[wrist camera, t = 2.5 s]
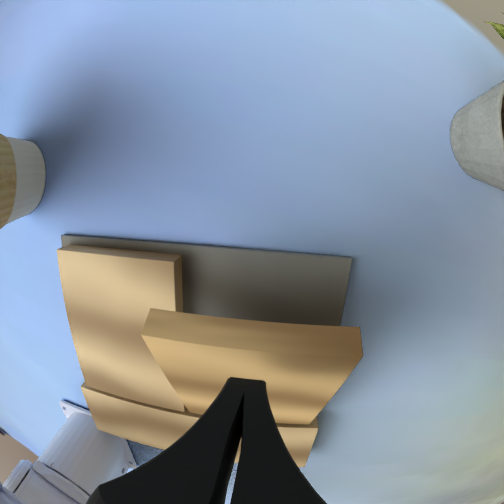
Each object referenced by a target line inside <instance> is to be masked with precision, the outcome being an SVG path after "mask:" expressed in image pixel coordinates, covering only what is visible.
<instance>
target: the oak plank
mask: <svg viewBox="0 0 504 504" xmlns="http://www.w3.org/2000/svg"><path fill="white" fill-rule="evenodd" d="M141 336H142V338H143V339H144V341H145V343H146V345H147V346H148V348H149V350H150V352H151V353H152V355H153V357H154V358H155V360H156V362H157V363H158V365H159V367H160V368H161V370H162V371H163V373H164V375H165V376H166V378H167V379H168V381H169V382H170V384H171V386H172V387H173V389H174V390H175V392H176V393H177V395H178V396H179V398H180V399H181V401H182V402H183V404H184V405H185V406H186V408H187V409H188V411H189V412H190V413H196V414H202V415H203V414H204V413H205V411H206V410H207V409H208V408H209V406H210V405H211V404H212V402H213V401H214V400H215V398H216V397H217V396H218V394H219V393H220V391H221V390H222V388H223V386H224V385H225V383H226V381H227V379H228V378H230V377H236V378H245V379H255V380H264V381H265V382H266V389H267V395H268V400H269V404H270V408H271V411H272V414H273V417H274V419H275V422H276V423H285V424H310V423H311V422H312V421H313V419H314V418H315V417H316V416H317V415H318V414H319V412H320V411H321V410H322V409H323V408H324V406H325V405H326V404H327V403H328V402H329V400H330V399H331V398H332V397H333V395H334V394H335V393H336V392H337V390H338V389H339V388H340V387H341V385H342V384H343V383H344V381H345V380H346V379H347V377H348V376H349V375H350V373H351V372H352V371H353V369H354V368H355V367H356V365H357V364H358V362H359V361H360V360H361V358H362V357H363V350H362V341H361V333H360V327H346V326H323V325H306V324H290V323H277V322H265V321H253V320H243V319H233V318H224V317H215V316H206V315H198V314H190V313H183V312H175V311H168V310H161V309H155V308H150V311H149V313H148V316H147V319H146V322H145V324H144V327H143V330H142V333H141Z"/></svg>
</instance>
